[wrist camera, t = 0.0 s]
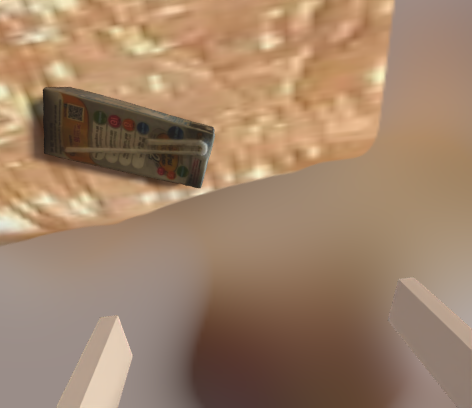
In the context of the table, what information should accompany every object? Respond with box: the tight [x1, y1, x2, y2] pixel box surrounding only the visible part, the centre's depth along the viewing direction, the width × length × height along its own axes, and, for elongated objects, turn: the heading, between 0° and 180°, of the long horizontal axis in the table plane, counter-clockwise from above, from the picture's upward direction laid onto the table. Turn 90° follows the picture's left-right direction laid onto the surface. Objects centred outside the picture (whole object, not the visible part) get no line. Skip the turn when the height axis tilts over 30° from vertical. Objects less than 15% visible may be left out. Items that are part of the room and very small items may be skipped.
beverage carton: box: [43, 87, 215, 188], centre depth 32 cm, size 8×19×7 cm, turn 74°
